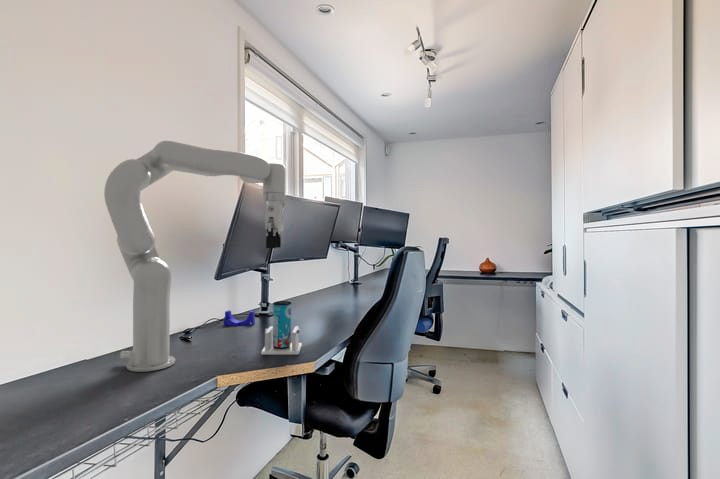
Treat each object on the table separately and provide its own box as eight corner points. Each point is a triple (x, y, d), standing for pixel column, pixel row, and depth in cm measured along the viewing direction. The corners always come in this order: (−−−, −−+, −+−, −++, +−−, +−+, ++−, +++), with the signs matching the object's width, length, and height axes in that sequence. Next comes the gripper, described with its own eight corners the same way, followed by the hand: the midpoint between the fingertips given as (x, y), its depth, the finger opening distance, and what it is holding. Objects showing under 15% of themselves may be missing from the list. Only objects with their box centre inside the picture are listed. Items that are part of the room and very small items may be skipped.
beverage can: (286, 350, 128) (286, 304, 128) (269, 348, 129) (270, 303, 129) (293, 345, 134) (294, 301, 134) (277, 343, 135) (278, 300, 135)
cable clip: (223, 326, 167) (223, 312, 167) (227, 324, 171) (227, 310, 171) (251, 326, 167) (251, 312, 167) (254, 324, 171) (254, 310, 171)
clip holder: (261, 354, 127) (261, 332, 127) (267, 345, 137) (267, 325, 137) (298, 354, 127) (298, 332, 127) (301, 345, 137) (301, 325, 137)
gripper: (280, 196, 128) (280, 248, 128) (288, 201, 145) (288, 247, 145) (257, 196, 128) (257, 248, 128) (267, 201, 145) (267, 247, 145)
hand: (273, 247), depth 137 cm, fingers open, 9 cm apart
